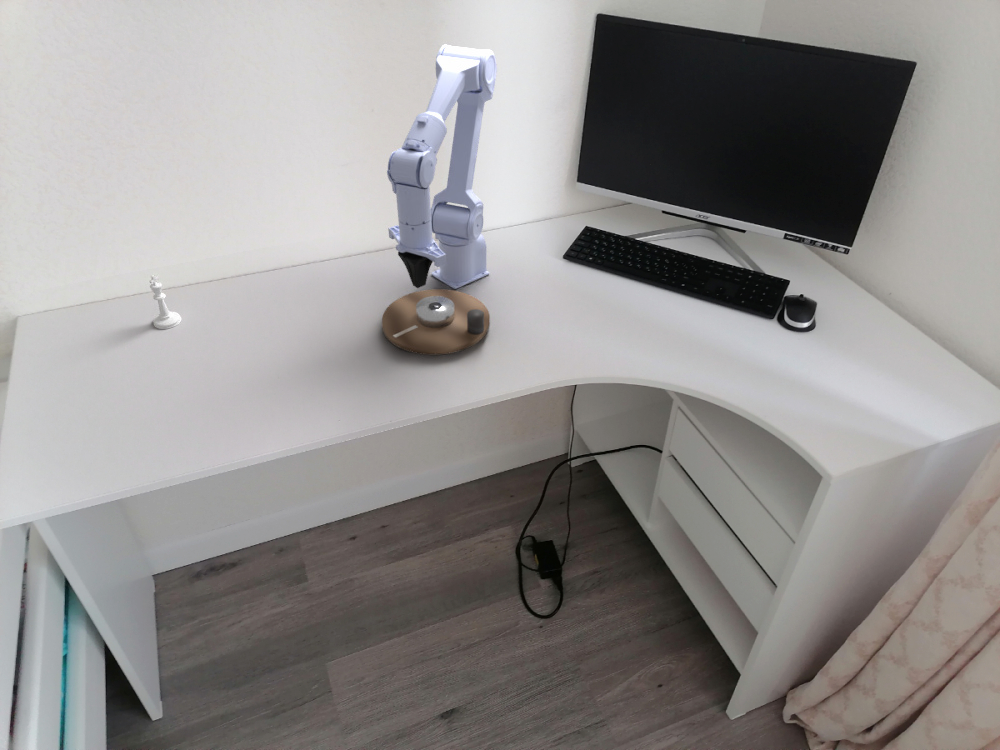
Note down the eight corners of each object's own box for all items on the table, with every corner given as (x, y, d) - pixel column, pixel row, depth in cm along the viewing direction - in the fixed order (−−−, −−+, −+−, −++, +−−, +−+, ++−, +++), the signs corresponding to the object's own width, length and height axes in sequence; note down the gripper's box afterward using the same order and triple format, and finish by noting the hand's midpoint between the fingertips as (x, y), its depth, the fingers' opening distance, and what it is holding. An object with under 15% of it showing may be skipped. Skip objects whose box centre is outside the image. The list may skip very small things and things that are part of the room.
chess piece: (147, 325, 137) (131, 279, 131) (166, 312, 140) (151, 266, 134) (168, 331, 135) (153, 285, 129) (187, 317, 139) (173, 272, 133)
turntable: (444, 283, 148) (443, 263, 145) (511, 325, 136) (512, 304, 133) (361, 319, 137) (358, 298, 134) (426, 368, 125) (425, 346, 123)
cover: (439, 303, 140) (438, 291, 138) (462, 318, 136) (461, 307, 134) (409, 316, 136) (408, 304, 134) (431, 332, 132) (431, 320, 130)
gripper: (371, 210, 129) (379, 277, 138) (421, 240, 121) (426, 309, 129) (404, 199, 133) (409, 264, 141) (454, 227, 125) (456, 294, 133)
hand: (419, 285), depth 136 cm, fingers closed
